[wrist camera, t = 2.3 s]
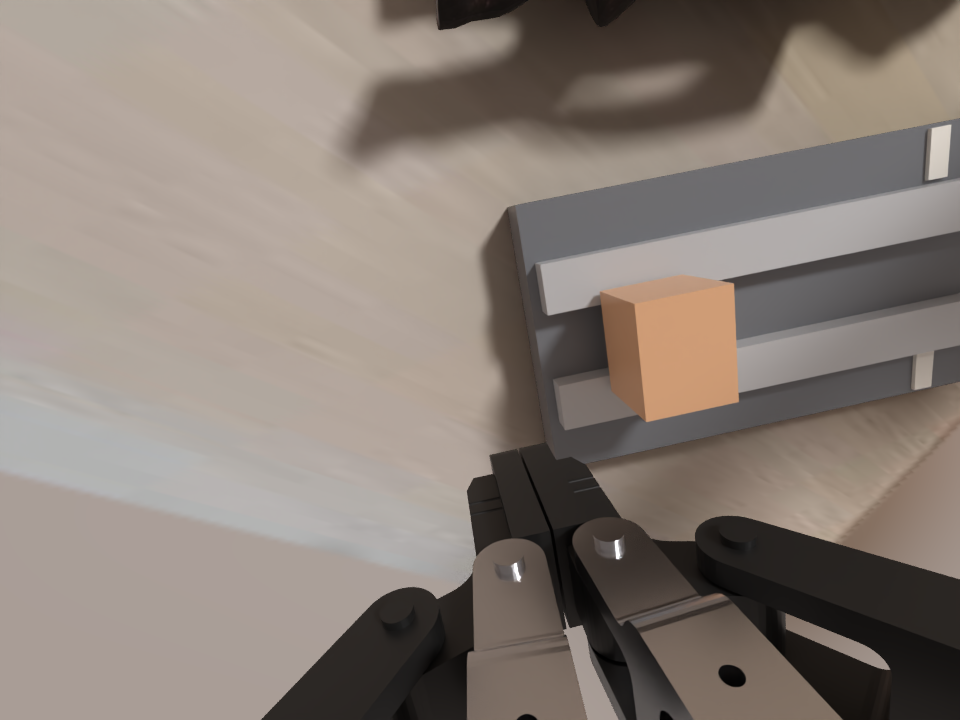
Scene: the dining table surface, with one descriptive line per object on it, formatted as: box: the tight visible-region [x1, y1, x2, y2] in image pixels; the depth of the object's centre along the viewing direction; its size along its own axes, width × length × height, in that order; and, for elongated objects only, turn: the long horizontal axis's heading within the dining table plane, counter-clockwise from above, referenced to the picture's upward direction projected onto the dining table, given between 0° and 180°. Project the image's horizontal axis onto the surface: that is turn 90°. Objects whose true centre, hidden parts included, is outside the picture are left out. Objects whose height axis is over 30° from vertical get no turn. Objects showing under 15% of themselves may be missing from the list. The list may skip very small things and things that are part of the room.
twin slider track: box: [507, 119, 960, 464], centre depth 25 cm, size 26×14×4 cm, turn 101°
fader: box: [600, 274, 739, 422], centre depth 22 cm, size 4×5×5 cm
